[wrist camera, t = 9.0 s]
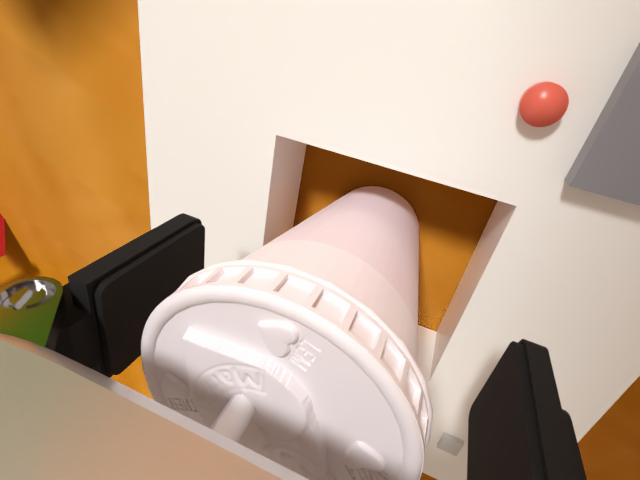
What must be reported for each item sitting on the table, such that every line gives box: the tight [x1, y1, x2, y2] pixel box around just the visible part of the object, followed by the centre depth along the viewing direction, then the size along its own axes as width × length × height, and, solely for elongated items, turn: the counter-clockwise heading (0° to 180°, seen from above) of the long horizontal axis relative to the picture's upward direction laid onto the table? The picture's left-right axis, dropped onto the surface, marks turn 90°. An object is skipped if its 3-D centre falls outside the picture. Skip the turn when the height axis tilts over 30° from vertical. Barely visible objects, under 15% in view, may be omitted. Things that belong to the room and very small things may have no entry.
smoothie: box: [141, 186, 433, 480], centre depth 10 cm, size 6×6×14 cm
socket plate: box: [138, 0, 640, 480], centre depth 14 cm, size 18×18×4 cm
